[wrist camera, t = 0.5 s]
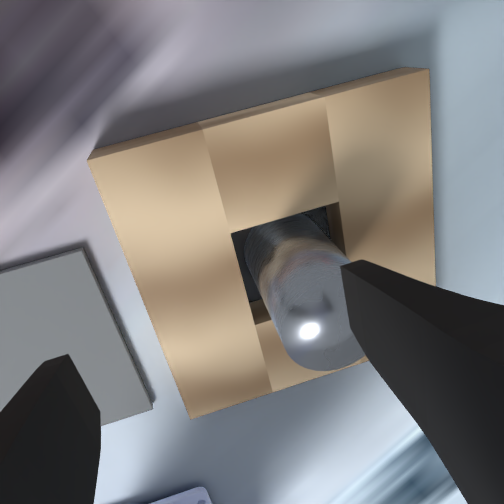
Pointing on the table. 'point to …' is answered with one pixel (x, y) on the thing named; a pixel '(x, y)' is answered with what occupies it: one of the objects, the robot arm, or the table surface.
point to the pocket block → (266, 217)
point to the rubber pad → (66, 333)
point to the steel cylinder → (303, 291)
